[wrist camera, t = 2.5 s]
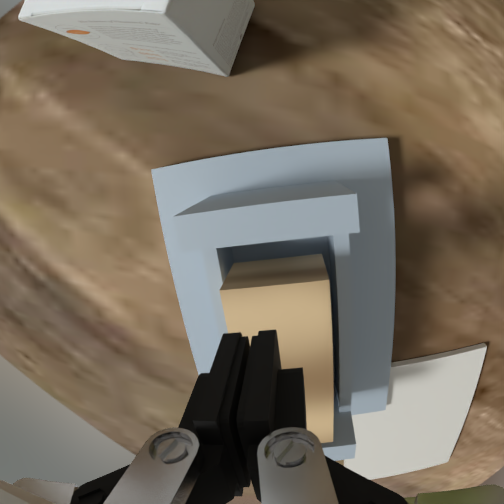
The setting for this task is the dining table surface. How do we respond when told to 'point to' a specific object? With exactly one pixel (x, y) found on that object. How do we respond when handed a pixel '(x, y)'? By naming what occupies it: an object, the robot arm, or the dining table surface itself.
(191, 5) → the small box
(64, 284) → the dining table surface
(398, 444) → the mat
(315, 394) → the oak block
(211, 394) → the robot arm
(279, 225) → the jig
